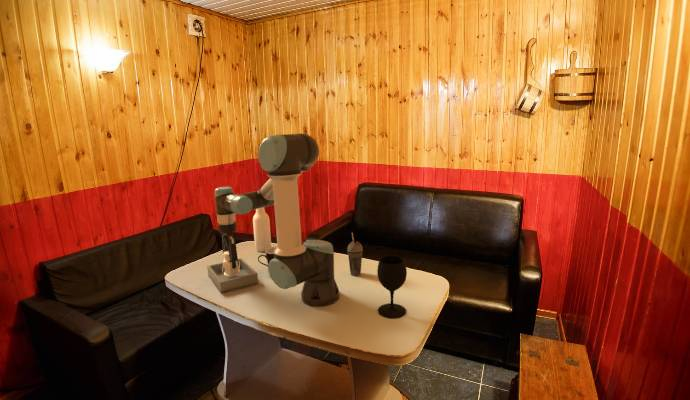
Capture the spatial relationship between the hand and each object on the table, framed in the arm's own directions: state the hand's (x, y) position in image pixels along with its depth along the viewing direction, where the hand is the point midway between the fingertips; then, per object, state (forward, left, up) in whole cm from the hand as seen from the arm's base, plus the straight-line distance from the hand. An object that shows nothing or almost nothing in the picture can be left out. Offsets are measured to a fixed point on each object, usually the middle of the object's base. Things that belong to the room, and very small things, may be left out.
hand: (231, 271), depth 165 cm
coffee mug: (-1, -19, -4) cm, 19 cm away
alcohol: (+30, -26, -4) cm, 40 cm away
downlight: (0, 0, -1) cm, 1 cm away
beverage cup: (-28, -48, -4) cm, 56 cm away
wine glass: (-63, -40, -4) cm, 75 cm away
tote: (0, 0, -4) cm, 4 cm away
